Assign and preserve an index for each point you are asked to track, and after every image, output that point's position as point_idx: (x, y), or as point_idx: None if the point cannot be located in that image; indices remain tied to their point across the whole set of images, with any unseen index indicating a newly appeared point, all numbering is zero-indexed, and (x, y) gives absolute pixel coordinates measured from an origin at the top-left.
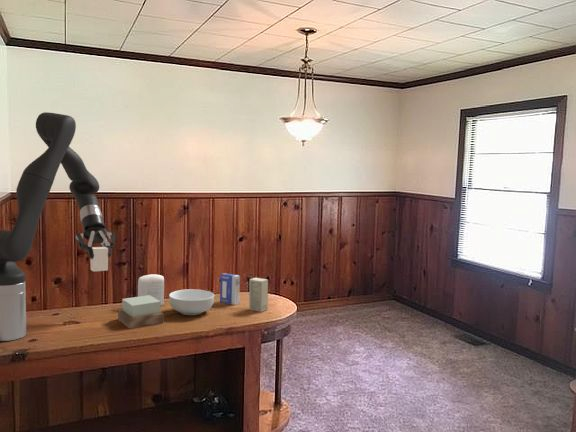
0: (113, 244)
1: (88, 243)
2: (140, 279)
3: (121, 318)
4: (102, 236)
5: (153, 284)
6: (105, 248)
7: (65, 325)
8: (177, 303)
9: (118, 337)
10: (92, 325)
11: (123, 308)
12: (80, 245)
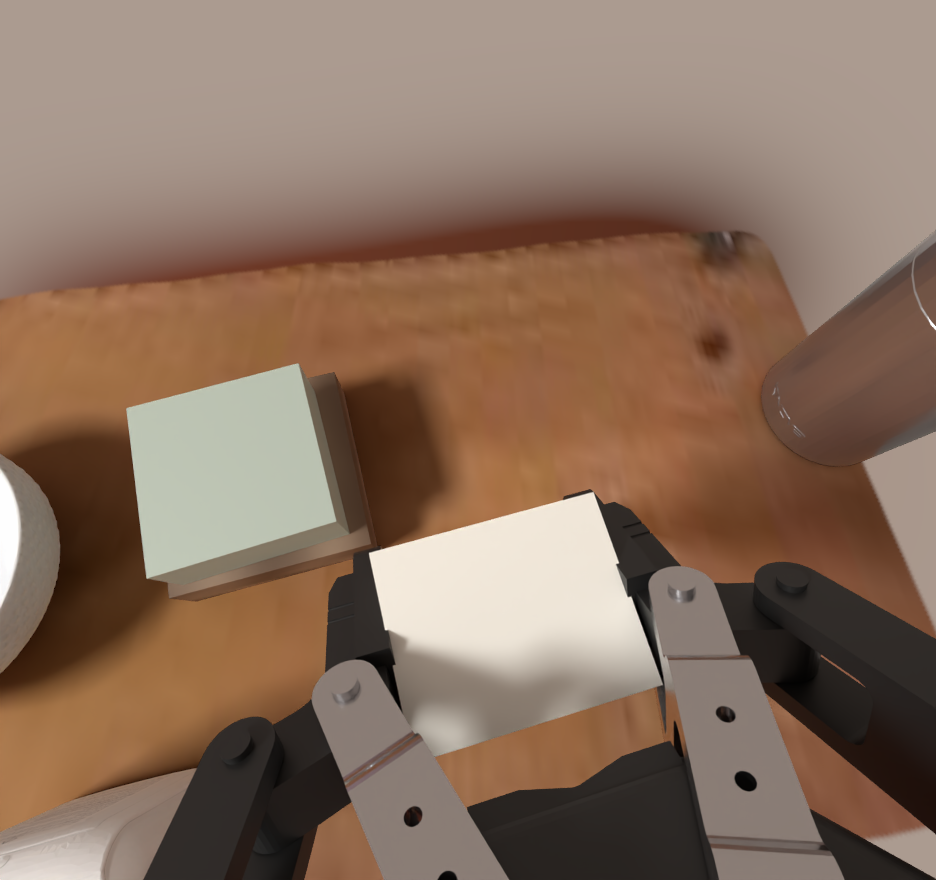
0: (246, 721)
1: (723, 621)
2: (108, 849)
3: (364, 493)
4: (460, 853)
5: (23, 833)
6: (411, 542)
7: (625, 506)
8: (24, 478)
9: (396, 299)
10: (502, 476)
11: (342, 511)
12: (856, 693)
